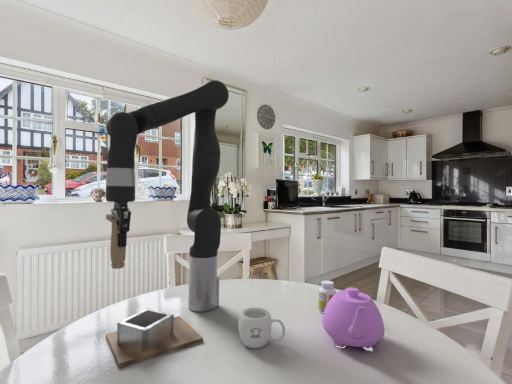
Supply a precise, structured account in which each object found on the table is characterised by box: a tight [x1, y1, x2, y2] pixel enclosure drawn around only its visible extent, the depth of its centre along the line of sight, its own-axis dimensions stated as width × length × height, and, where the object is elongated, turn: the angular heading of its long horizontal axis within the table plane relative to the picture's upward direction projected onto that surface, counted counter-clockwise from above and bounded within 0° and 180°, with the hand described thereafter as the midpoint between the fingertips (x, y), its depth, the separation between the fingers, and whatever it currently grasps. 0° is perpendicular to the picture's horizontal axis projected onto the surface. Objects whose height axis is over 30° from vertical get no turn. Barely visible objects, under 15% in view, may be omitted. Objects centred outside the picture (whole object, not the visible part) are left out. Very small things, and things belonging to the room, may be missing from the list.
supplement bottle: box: [318, 280, 337, 313], centre depth 96 cm, size 5×5×10 cm
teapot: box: [321, 286, 386, 348], centre depth 77 cm, size 22×16×14 cm
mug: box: [238, 307, 286, 349], centre depth 75 cm, size 12×8×8 cm
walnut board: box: [105, 315, 204, 369], centre depth 76 cm, size 20×16×1 cm
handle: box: [105, 213, 127, 270], centre depth 83 cm, size 5×6×15 cm
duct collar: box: [116, 307, 175, 352], centre depth 75 cm, size 10×9×5 cm
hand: (120, 245), depth 83 cm, fingers closed on handle, 4 cm apart
